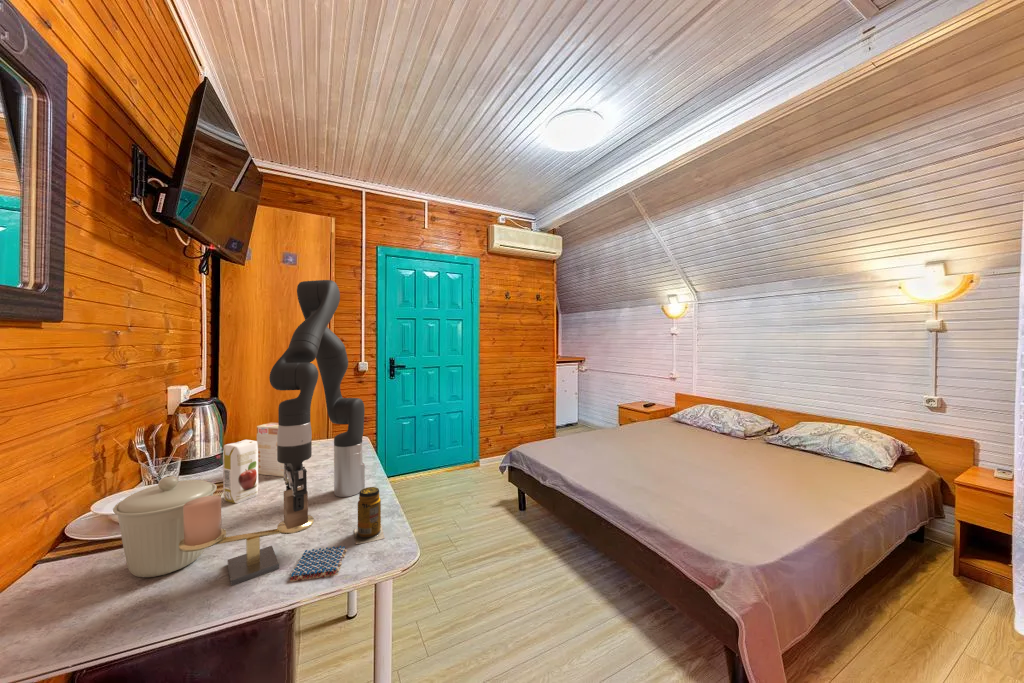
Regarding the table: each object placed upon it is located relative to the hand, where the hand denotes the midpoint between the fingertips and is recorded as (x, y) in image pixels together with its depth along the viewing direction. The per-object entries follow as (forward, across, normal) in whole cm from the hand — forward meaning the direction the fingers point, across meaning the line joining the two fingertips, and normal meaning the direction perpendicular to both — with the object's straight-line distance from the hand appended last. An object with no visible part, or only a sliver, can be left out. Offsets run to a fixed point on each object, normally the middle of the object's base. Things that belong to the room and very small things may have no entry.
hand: (294, 504), depth 93 cm
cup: (+2, 0, +18) cm, 18 cm away
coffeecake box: (+12, +67, -7) cm, 69 cm away
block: (+5, 0, 0) cm, 5 cm away
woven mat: (+13, -10, -3) cm, 17 cm away
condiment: (+12, -4, -17) cm, 22 cm away
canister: (+12, +15, +24) cm, 31 cm away
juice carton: (+12, +48, +7) cm, 50 cm away
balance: (+12, 0, +9) cm, 15 cm away
